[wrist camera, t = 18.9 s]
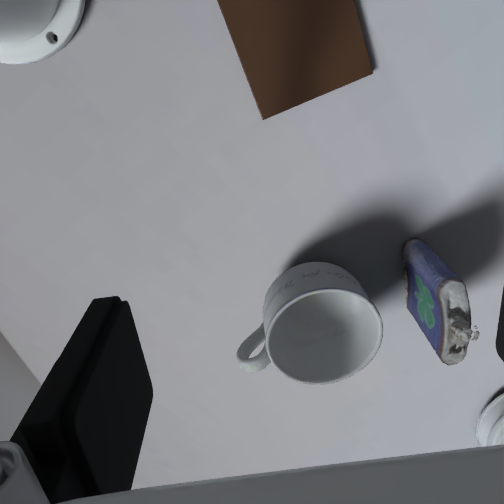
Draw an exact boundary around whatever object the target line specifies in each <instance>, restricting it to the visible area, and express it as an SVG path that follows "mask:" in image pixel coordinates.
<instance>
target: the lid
mask: <svg viewBox="0 0 504 504" xmlns="http://www.w3.org/2000/svg"><path fill="white" fill-rule="evenodd" d="M476 435H477V439H478V442H479V443H480V445H481V446H482V447H485V446H494V445H503V444H504V393H503V394H501V395H500V396H498V397H497V398H496V399H494V400H493V401H492V402H491V403H490V404H489V405H488V406H487V407H486V408H485V410H484V411H483V412H482V414H481V416H480V417H479V420H478V422H477V427H476Z"/></svg>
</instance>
